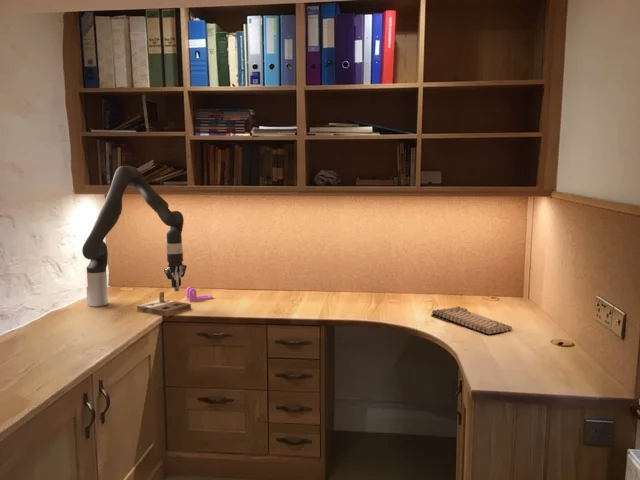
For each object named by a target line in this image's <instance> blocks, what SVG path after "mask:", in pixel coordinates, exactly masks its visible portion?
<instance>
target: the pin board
mask: <svg viewBox="0 0 640 480" xmlns="http://www.w3.org/2000/svg"><path fill="white" fill-rule="evenodd" d="M158 296H159V299H156V300H153V301H149V302H146V303H143V304H140V305H137V306H136V310H137V312H140V313H146V314H151V315H157V316H161V317H171V316H173V315H177V314H180V313H182V312H185V311H189V310H191V309H192V307H191V306H192V303H188V302H181V301H176V300H170V299H165V291H159V292H158Z"/></svg>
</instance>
